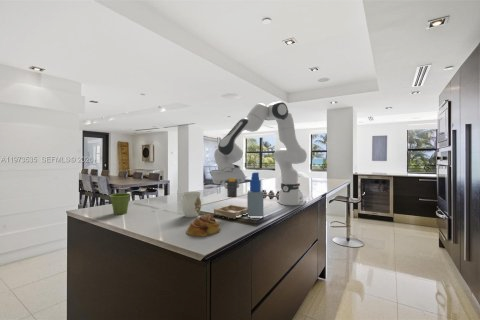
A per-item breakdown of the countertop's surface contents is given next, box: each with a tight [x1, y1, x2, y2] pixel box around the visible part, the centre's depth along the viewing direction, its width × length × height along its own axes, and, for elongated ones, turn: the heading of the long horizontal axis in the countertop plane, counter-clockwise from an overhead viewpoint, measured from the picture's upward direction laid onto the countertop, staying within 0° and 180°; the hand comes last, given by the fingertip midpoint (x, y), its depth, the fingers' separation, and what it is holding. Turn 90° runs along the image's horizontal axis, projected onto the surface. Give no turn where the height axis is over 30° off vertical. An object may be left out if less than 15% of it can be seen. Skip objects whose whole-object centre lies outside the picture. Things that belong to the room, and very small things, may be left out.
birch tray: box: [213, 204, 248, 217], centre depth 141 cm, size 15×15×4 cm
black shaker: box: [226, 181, 238, 198], centre depth 141 cm, size 6×6×9 cm
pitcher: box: [181, 191, 202, 218], centre depth 140 cm, size 11×18×14 cm, turn 162°
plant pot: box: [108, 192, 132, 216], centre depth 146 cm, size 12×12×11 cm
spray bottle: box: [246, 171, 264, 217], centre depth 136 cm, size 9×9×25 cm
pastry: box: [185, 213, 221, 238], centre depth 112 cm, size 13×15×8 cm
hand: (232, 187), depth 140 cm, fingers closed on black shaker, 5 cm apart
